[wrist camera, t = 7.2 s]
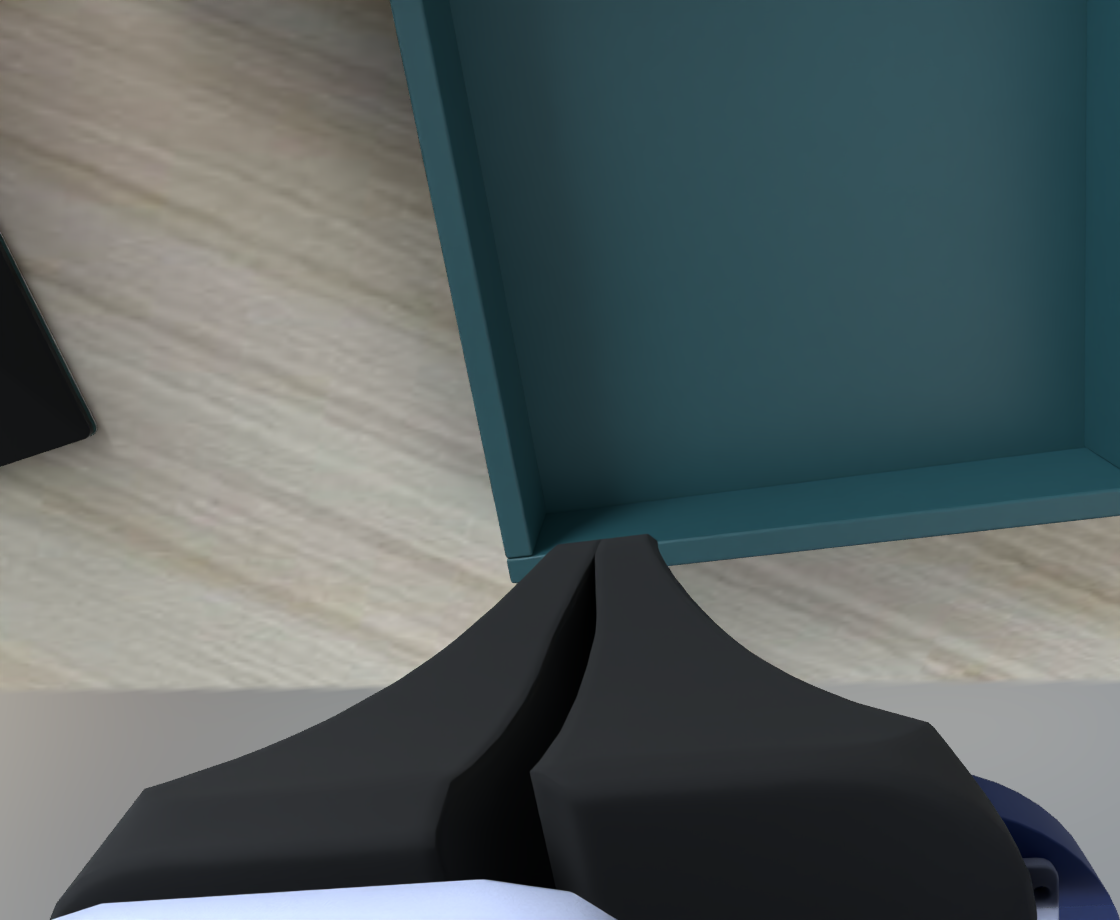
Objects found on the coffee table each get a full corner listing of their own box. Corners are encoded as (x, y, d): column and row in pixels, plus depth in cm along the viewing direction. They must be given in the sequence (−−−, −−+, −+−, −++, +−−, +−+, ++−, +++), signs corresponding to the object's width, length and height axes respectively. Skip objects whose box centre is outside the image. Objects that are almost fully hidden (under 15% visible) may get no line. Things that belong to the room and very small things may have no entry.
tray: (1101, 461, 20) (1175, 510, 17) (530, 530, 22) (510, 585, 19) (1112, -432, 15) (1217, -571, 12) (378, -236, 17) (322, -317, 14)
